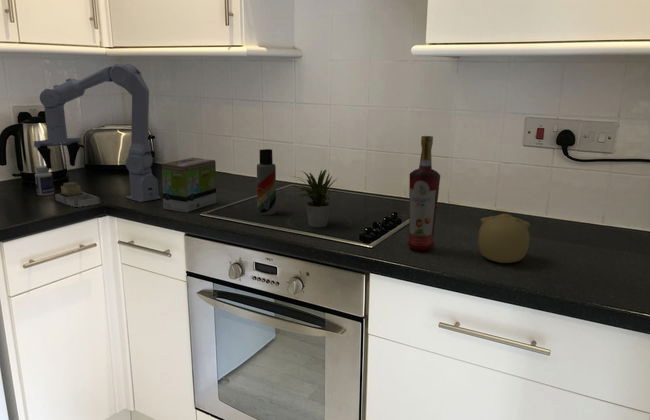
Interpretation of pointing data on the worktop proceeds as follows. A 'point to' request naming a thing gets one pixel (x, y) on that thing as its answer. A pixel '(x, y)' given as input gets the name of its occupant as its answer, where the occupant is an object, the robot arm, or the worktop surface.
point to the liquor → (423, 200)
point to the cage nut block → (70, 189)
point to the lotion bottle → (266, 183)
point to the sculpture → (503, 238)
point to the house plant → (317, 199)
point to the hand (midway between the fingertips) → (61, 167)
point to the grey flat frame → (78, 199)
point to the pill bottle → (44, 181)
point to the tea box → (189, 184)
